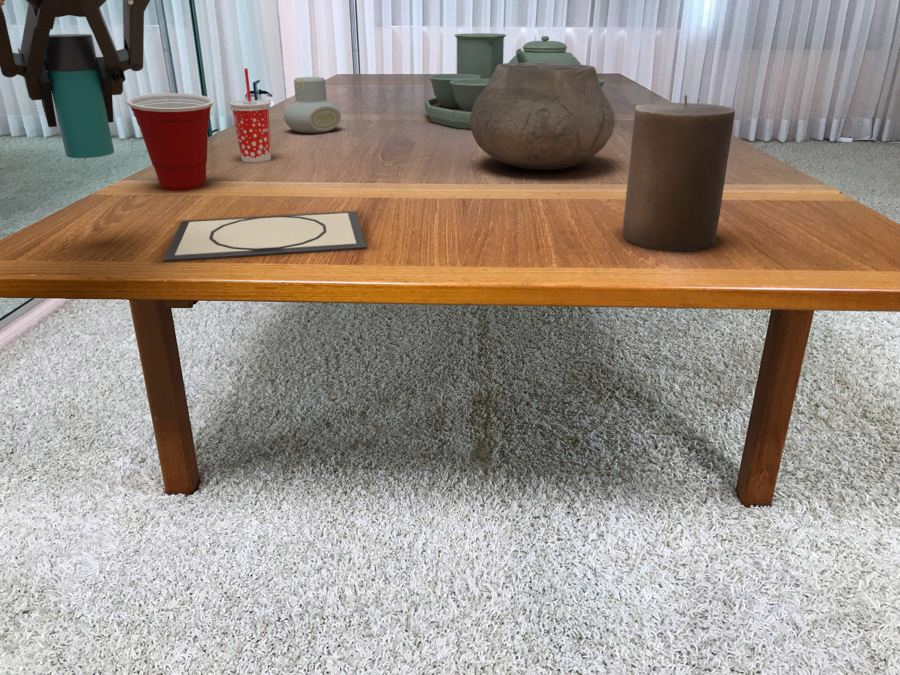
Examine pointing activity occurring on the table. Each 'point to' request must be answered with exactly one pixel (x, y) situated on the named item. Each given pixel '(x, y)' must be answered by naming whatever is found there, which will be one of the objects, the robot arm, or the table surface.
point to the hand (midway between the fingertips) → (78, 113)
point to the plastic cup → (175, 136)
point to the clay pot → (542, 115)
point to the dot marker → (78, 95)
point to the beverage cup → (252, 127)
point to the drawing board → (265, 236)
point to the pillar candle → (677, 175)
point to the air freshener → (311, 108)
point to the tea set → (483, 73)
